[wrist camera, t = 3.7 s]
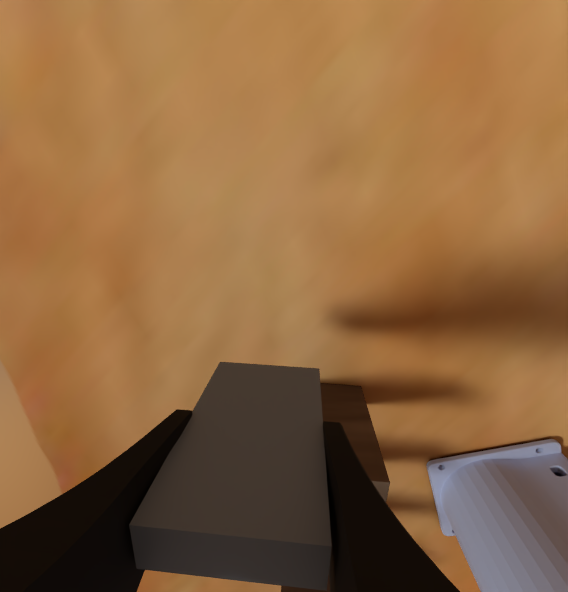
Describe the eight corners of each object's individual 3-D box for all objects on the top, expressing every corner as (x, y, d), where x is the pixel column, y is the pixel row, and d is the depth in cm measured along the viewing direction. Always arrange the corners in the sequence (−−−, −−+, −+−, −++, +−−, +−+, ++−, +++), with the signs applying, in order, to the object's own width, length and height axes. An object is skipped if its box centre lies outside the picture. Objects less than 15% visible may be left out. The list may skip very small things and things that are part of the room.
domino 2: (294, 381, 22) (287, 472, 15) (361, 386, 22) (389, 482, 14) (292, 399, 23) (286, 496, 15) (358, 404, 22) (385, 506, 15)
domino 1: (220, 361, 15) (129, 524, 7) (319, 368, 15) (331, 546, 7) (221, 389, 15) (136, 569, 8) (316, 396, 15) (326, 590, 7)
